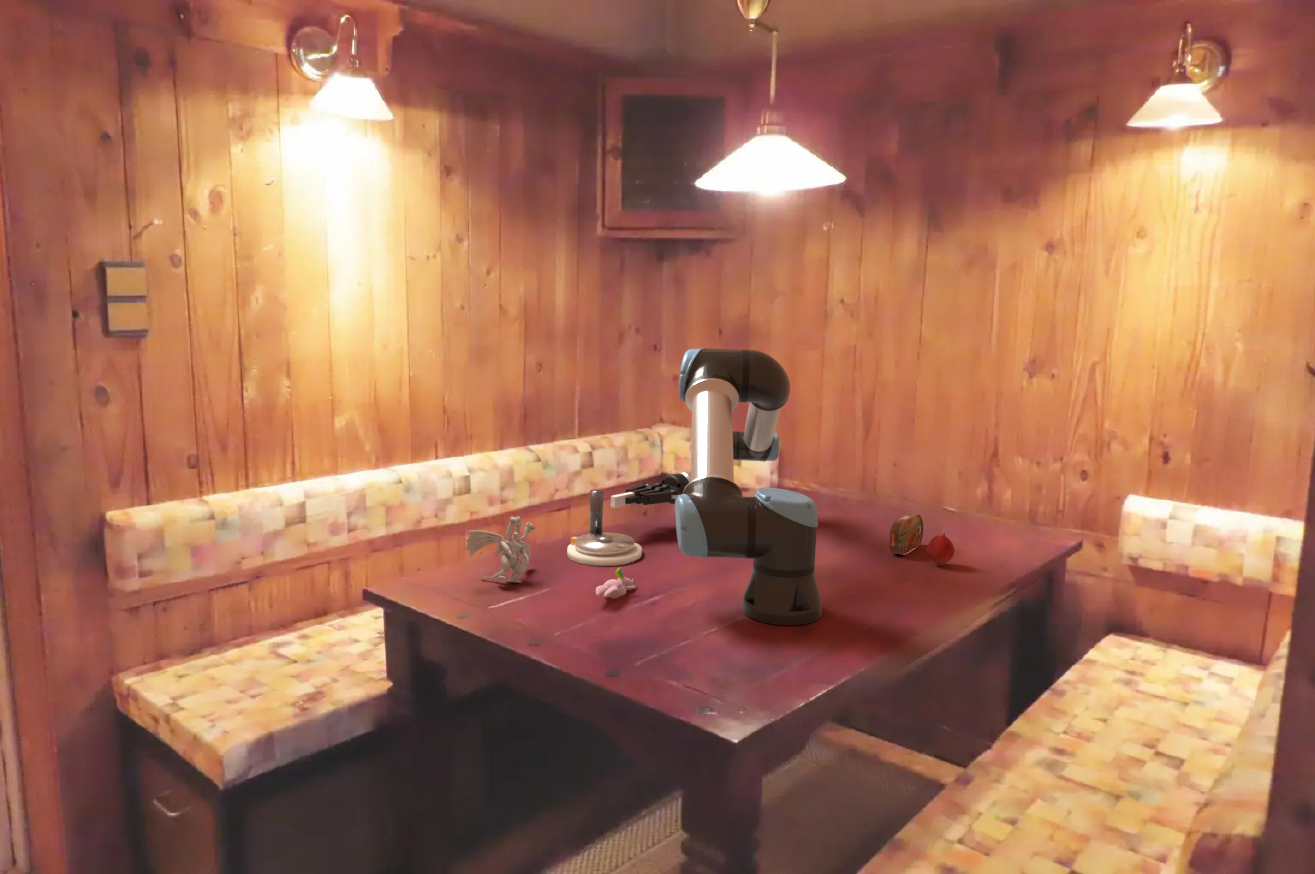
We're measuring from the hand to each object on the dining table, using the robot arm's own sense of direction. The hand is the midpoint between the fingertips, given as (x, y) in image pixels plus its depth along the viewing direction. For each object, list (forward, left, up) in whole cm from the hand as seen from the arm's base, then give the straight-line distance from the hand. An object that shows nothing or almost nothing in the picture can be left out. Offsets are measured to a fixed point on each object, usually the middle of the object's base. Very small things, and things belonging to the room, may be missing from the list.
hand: (612, 502), depth 217 cm
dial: (-9, -3, -8) cm, 12 cm away
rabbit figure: (-33, -18, -10) cm, 39 cm away
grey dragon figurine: (-34, +6, -10) cm, 36 cm away
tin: (+28, -64, -10) cm, 70 cm away
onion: (+20, -73, -10) cm, 76 cm away
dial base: (-9, -3, -10) cm, 14 cm away
